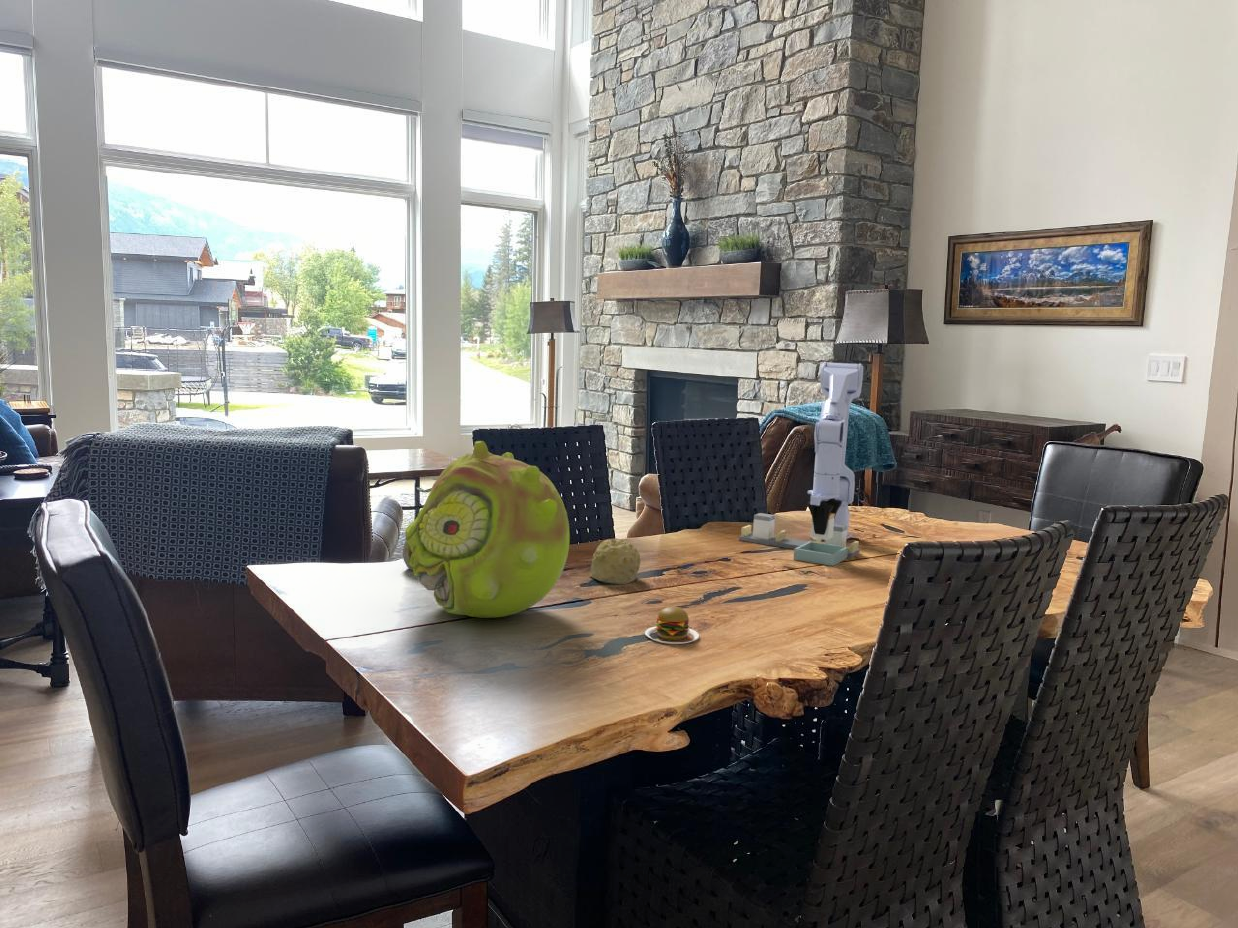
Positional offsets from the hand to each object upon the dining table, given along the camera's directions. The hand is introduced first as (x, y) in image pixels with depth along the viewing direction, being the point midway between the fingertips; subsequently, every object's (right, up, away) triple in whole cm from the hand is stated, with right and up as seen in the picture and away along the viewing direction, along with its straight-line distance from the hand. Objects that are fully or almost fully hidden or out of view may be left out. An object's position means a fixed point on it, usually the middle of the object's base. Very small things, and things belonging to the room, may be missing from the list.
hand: (822, 532), depth 215 cm
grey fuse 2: (+5, -4, +8) cm, 10 cm away
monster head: (-69, -10, -52) cm, 87 cm away
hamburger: (-38, -14, -60) cm, 72 cm away
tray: (0, -6, +1) cm, 6 cm away
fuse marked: (0, -1, 0) cm, 1 cm away
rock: (-47, -8, -24) cm, 54 cm away
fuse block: (-3, -4, +12) cm, 13 cm away
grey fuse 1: (-11, -2, +17) cm, 20 cm away
